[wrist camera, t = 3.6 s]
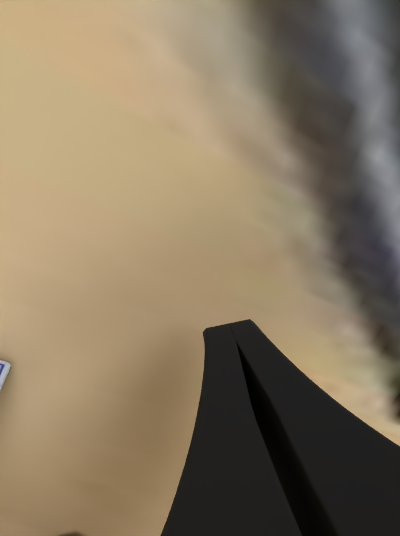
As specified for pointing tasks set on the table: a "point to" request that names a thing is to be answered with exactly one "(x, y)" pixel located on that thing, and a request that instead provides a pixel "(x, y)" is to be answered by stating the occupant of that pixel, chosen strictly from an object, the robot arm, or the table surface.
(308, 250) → the table surface
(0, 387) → the medicine box
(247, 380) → the robot arm
